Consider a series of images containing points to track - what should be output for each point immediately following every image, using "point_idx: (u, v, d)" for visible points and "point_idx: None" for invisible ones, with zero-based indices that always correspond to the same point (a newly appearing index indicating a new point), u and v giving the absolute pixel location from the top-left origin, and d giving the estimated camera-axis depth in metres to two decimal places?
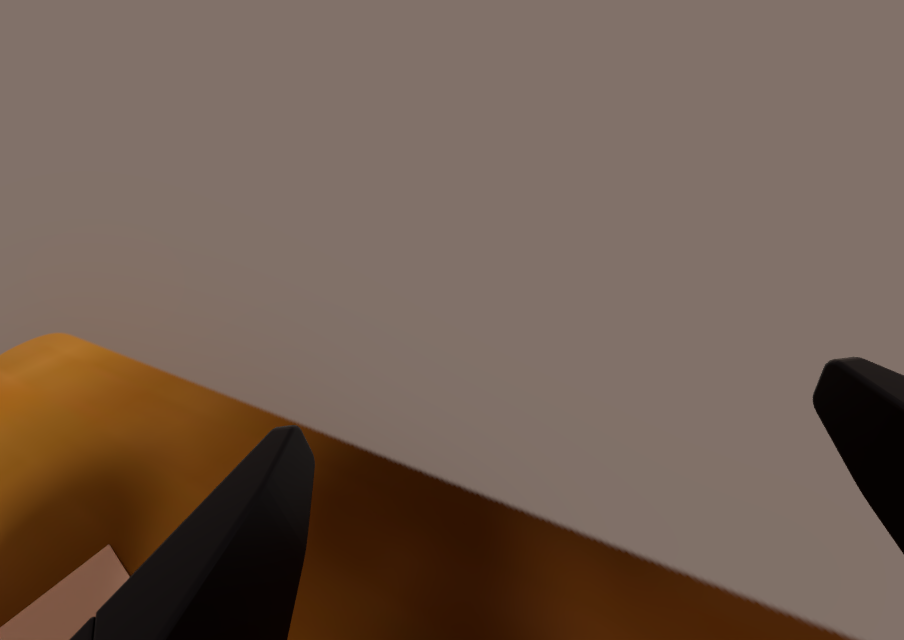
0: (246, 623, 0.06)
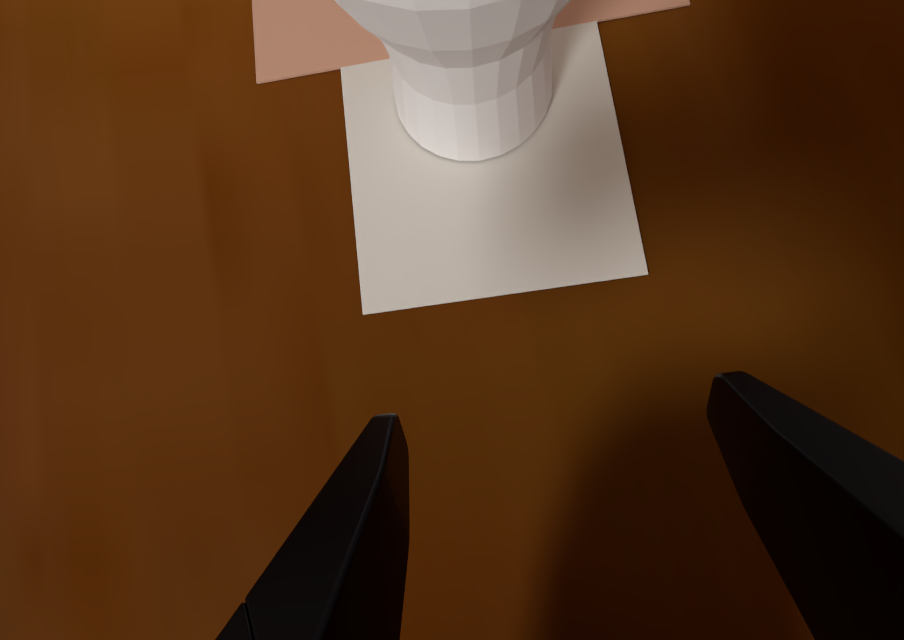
0: (376, 611, 0.06)
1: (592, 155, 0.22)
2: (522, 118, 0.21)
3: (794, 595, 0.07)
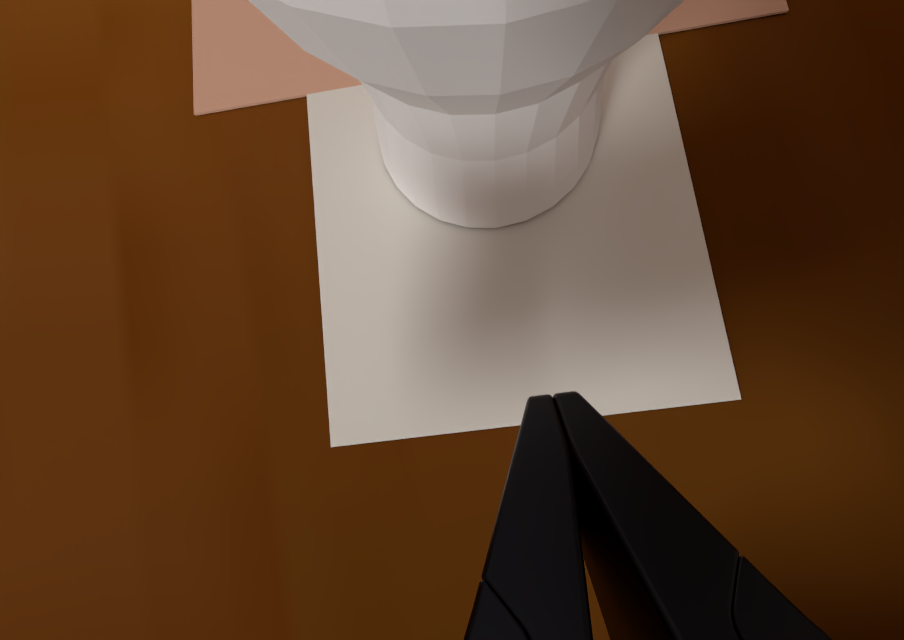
0: None
1: (656, 222, 0.16)
2: (560, 174, 0.14)
3: None
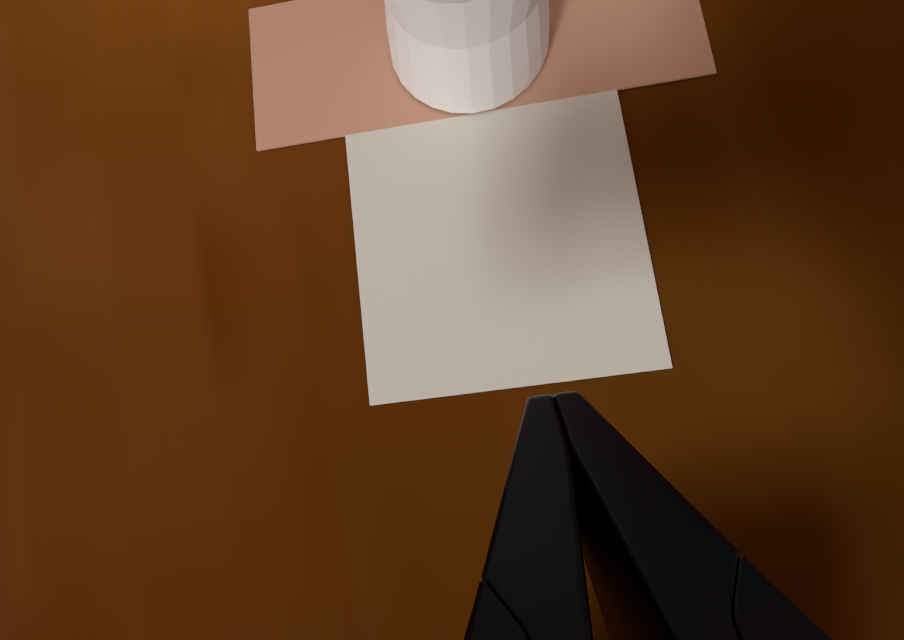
0: None
1: (612, 236, 0.21)
2: (516, 68, 0.21)
3: None
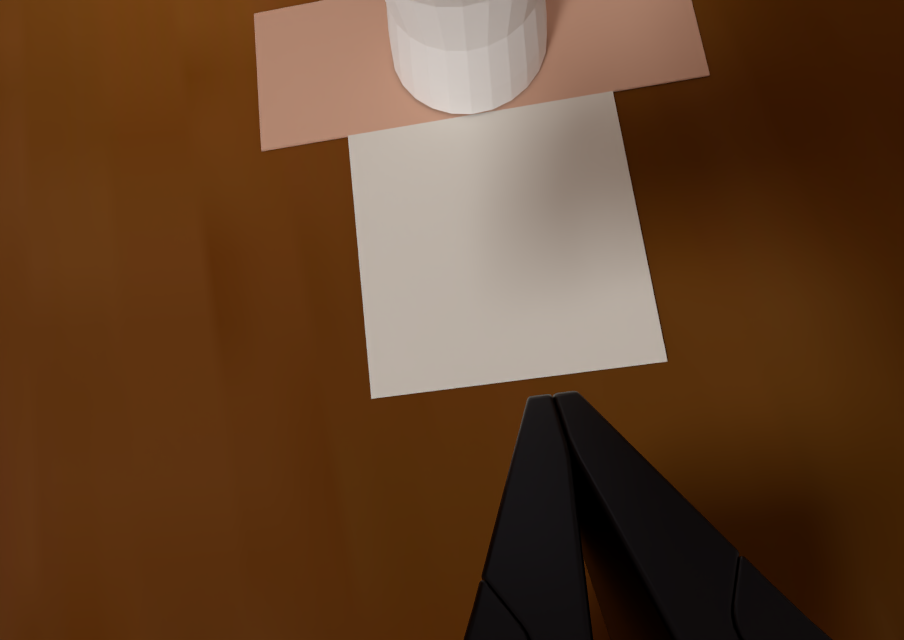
0: None
1: (609, 233, 0.21)
2: (514, 70, 0.21)
3: None
